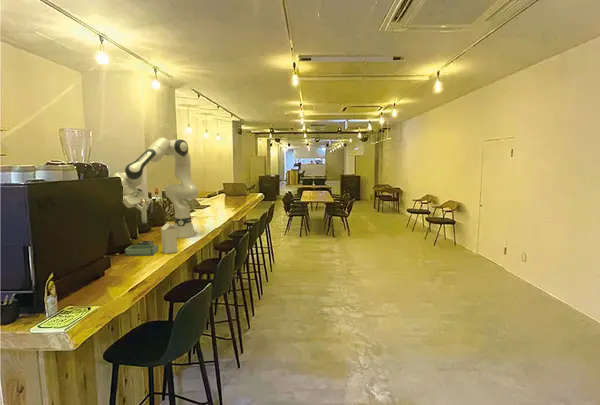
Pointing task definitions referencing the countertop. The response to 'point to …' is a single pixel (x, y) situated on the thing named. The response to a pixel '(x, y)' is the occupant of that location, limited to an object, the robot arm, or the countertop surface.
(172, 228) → the milk carton
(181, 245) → the countertop surface
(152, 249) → the tray
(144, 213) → the lock pin
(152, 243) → the socket block
